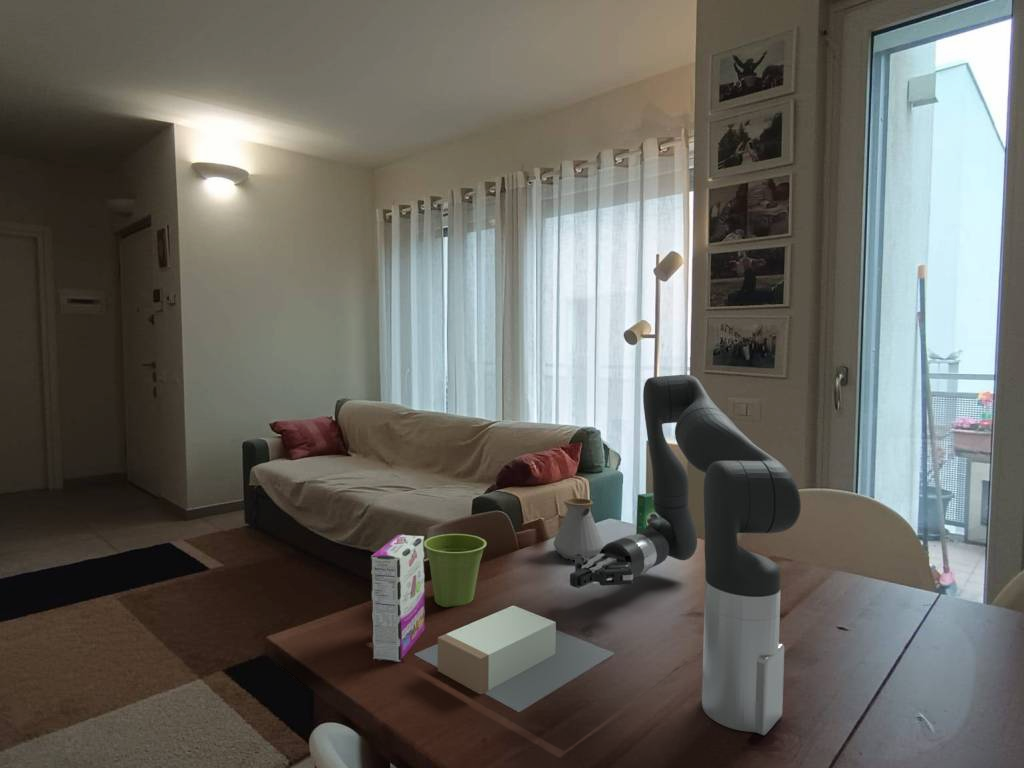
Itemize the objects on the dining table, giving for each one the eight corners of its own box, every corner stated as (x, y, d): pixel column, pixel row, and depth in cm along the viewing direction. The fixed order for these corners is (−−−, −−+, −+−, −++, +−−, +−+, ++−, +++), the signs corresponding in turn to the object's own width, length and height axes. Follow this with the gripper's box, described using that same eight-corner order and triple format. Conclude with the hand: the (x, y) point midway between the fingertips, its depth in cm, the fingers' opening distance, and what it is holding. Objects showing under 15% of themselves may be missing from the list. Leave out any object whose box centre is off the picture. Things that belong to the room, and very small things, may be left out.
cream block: (555, 622, 95) (480, 658, 84) (555, 653, 96) (480, 694, 84) (513, 605, 102) (437, 637, 90) (512, 635, 102) (437, 670, 90)
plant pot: (471, 618, 110) (472, 555, 109) (411, 608, 113) (412, 548, 113) (495, 593, 121) (495, 536, 120) (439, 585, 125) (440, 530, 124)
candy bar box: (397, 628, 105) (397, 533, 104) (425, 631, 104) (426, 535, 103) (369, 660, 94) (369, 554, 93) (400, 664, 93) (400, 556, 92)
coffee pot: (551, 547, 150) (552, 486, 149) (599, 548, 150) (600, 486, 149) (558, 580, 128) (559, 508, 128) (614, 580, 128) (615, 509, 128)
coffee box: (658, 542, 155) (660, 490, 154) (667, 545, 153) (668, 492, 152) (634, 547, 151) (636, 494, 150) (643, 550, 148) (644, 496, 148)
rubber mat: (615, 657, 96) (615, 653, 96) (518, 716, 80) (518, 712, 80) (511, 614, 111) (511, 611, 111) (413, 658, 95) (413, 654, 95)
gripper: (600, 530, 123) (544, 551, 110) (659, 545, 114) (606, 569, 101) (599, 568, 123) (543, 592, 111) (658, 585, 114) (605, 614, 102)
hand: (573, 581), depth 106 cm, fingers closed
